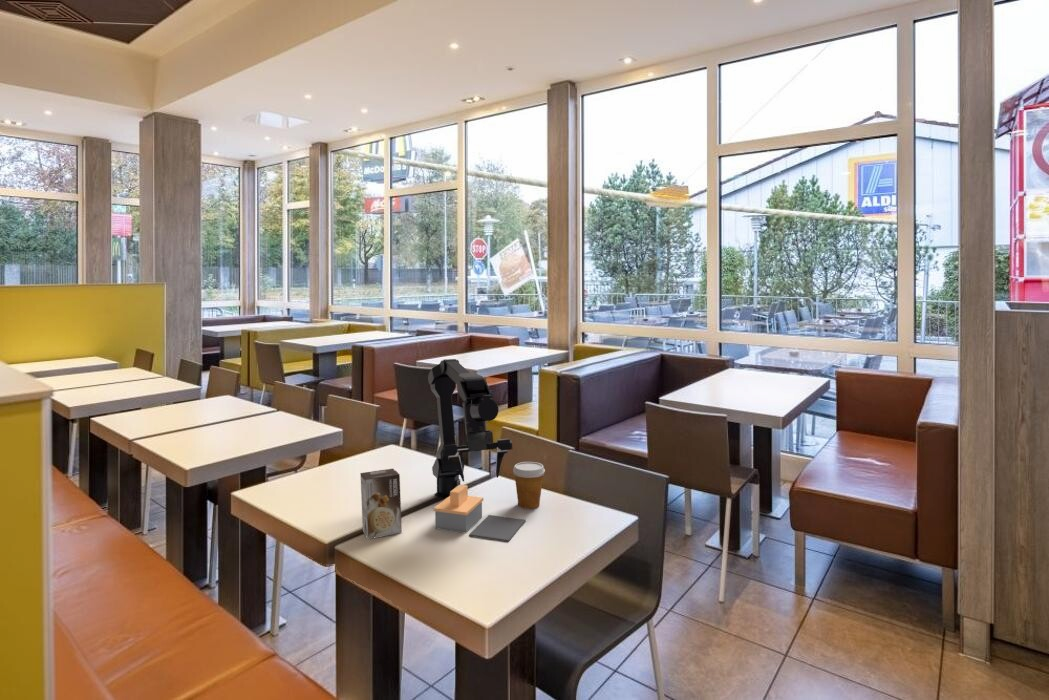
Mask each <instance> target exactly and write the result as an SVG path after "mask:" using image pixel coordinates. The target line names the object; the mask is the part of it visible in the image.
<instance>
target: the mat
mask: <svg viewBox="0 0 1049 700" xmlns="http://www.w3.org/2000/svg"><path fill="white" fill-rule="evenodd" d="M526 521H527V520H526V519H524V518H516V517H509V516H503V515H502V516H501V515H494V514H493V515H492V514H488V515H487V516H486V517H485V518H484V519H483V520H482V521H481V522H480V523H479V524H478V525H477V526H476V527H475V528H473V530H472V531H470V533H469V534H468V536H469V537H472V538H478V539H479V538H480V539H488V540H493V541H498V542H499V541H501V542H502V541H503V542H507V543H510V541H511V540H512V539H513V538H514V537H515V535H516V534H517V532H519V530H520V529H521V528H522V527H523V526H524V524H525V523H526Z"/></svg>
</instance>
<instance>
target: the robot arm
mask: <svg viewBox="0 0 1049 700" xmlns="http://www.w3.org/2000/svg"><path fill="white" fill-rule="evenodd" d="M427 379H428V384H429V385H430V391H431V392H432V393H433V395H434V396H435V397H436V406H437V415H438V416H437V418H438V427H439V428H438V430H439V440H440V441H439V442H440V445H439V447H438V448H437V451H436V453H435V454H436V456H435V458H436V459H435V460H434V462H433V465H432V467H431V471H432V475H433V476H434V477H435V478H436V492H435V493H434V496H435V497H436V496H437V497H443V498H444V497H445V498H447V497H449V496H450V491H452V490H453V489H454V488H456V487H457V486H458V485H461V480H462V482H465V474H464V471H465V461H466V460H465V458H464V456H463V453H468V452H477V451H487V450H496V455H495V456H496V457H495V458H496V460H495V476H496V478H499V474H500V470H501V465H502V462H503V459H504V456H505V454H509V450H510V451H511V450H513V441H512V440H511V439H510V438H500V439H496V441H495V442H494V435H493V430H492V429H491V430H488V429H487V423H486V422H490V421H493V420H495V419H496V418H497V416H498V414H499V410H500V409H499V406H498V404H497V402H496V401H494V400H493V392H492V390H491V388H490V387H489V385H488V383H487V381H486V379H485V377H483V376H482V375H481V374H478V373H471V372H469V370H467V368H465V367H464V366H463V365H462V364H461V363H460V361H459V360H458V359H456V358H449V359H448V358H447V359H442V360H441V361H440V363H438V364H436V365H434V367H431V369H430V371H429V373H428V375H427ZM455 390H456V391H457V393H458V395H459V396H460V398H461V399H462V401H463V402H462V404H461V406H462V407H463V415H464V427H465V429H464V430H465V442H466V443H465V444H466V445H458V443H457V442H456V430H455V422H454V421H455V419H454V409H453V408H454V406H453V397H452V396H453V394H454V393H455Z"/></svg>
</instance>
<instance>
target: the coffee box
mask: <svg viewBox="0 0 1049 700" xmlns="http://www.w3.org/2000/svg"><path fill="white" fill-rule="evenodd" d="M400 479H401V476H400V473H399V472H398V471H397V470H395V469H394V468H388V469H386V468H385V469H380V470H373V471H366V472H360V493H361V516H362V517H361V518H362V519H361V520H362V521H361V522H362V532H363V533H364V535H365V537H366V536H367V537H366V538H367V539H368V538H372V539H375V538H374V537H377V538H380V536H382V537H386V536H391V535H395V534H401V533H403V532H402V529H403V528H402V503H401V499H402V498H401V480H400Z"/></svg>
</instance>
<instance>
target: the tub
mask: <svg viewBox="0 0 1049 700" xmlns="http://www.w3.org/2000/svg"><path fill="white" fill-rule="evenodd" d="M434 514H435V515H434V516H435V517H434V518H435V522H434V523H435V525H434V526H435V527H434V528H435V529H436V530H437V529H438V530H443V531H450V532H457V533H465V534H467V533H469V531H470V530H471V529H472V528H473V527H474V526H475V525H476V524H477V523H478V522H480V520H482V518H483V501H482V502H481V503H480V504H479V505H478V506H477V507H475V508H474V509H473V510H472V511H471V512H470V513H469V514H468V515H460V514H452V513H445V512H438V511H434Z"/></svg>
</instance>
